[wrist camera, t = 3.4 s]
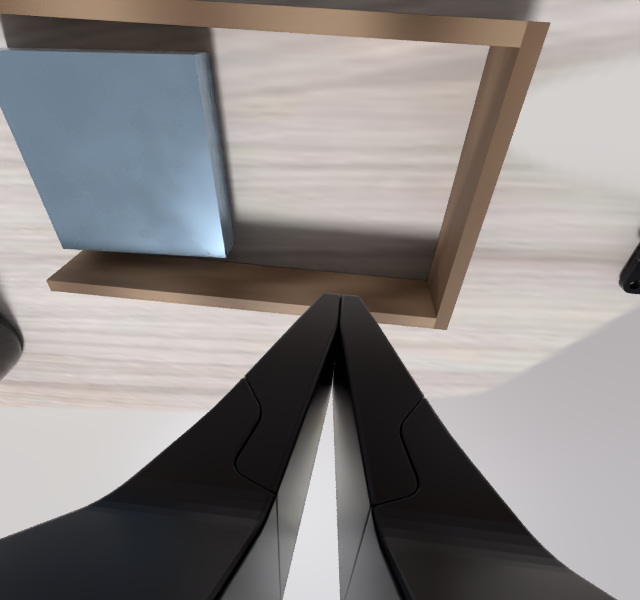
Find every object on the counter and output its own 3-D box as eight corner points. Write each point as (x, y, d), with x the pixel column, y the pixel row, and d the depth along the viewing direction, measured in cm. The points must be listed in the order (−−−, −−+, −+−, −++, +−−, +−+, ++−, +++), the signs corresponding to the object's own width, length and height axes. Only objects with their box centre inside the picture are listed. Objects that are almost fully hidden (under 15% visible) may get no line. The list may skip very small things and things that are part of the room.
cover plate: (212, 51, 14) (194, 54, 13) (237, 238, 19) (226, 257, 18) (16, 47, 15) (-26, 49, 13) (87, 230, 20) (63, 248, 18)
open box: (515, 22, 13) (550, 22, 10) (436, 291, 19) (446, 329, 17) (-12, -11, 13) (-93, -18, 11) (88, 258, 20) (51, 290, 18)
